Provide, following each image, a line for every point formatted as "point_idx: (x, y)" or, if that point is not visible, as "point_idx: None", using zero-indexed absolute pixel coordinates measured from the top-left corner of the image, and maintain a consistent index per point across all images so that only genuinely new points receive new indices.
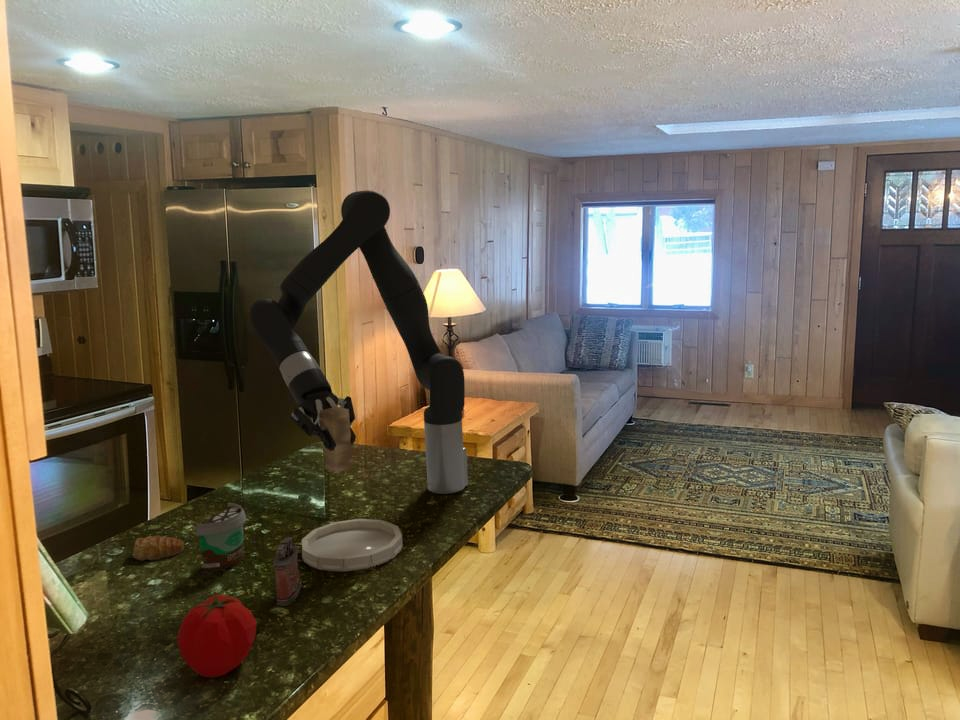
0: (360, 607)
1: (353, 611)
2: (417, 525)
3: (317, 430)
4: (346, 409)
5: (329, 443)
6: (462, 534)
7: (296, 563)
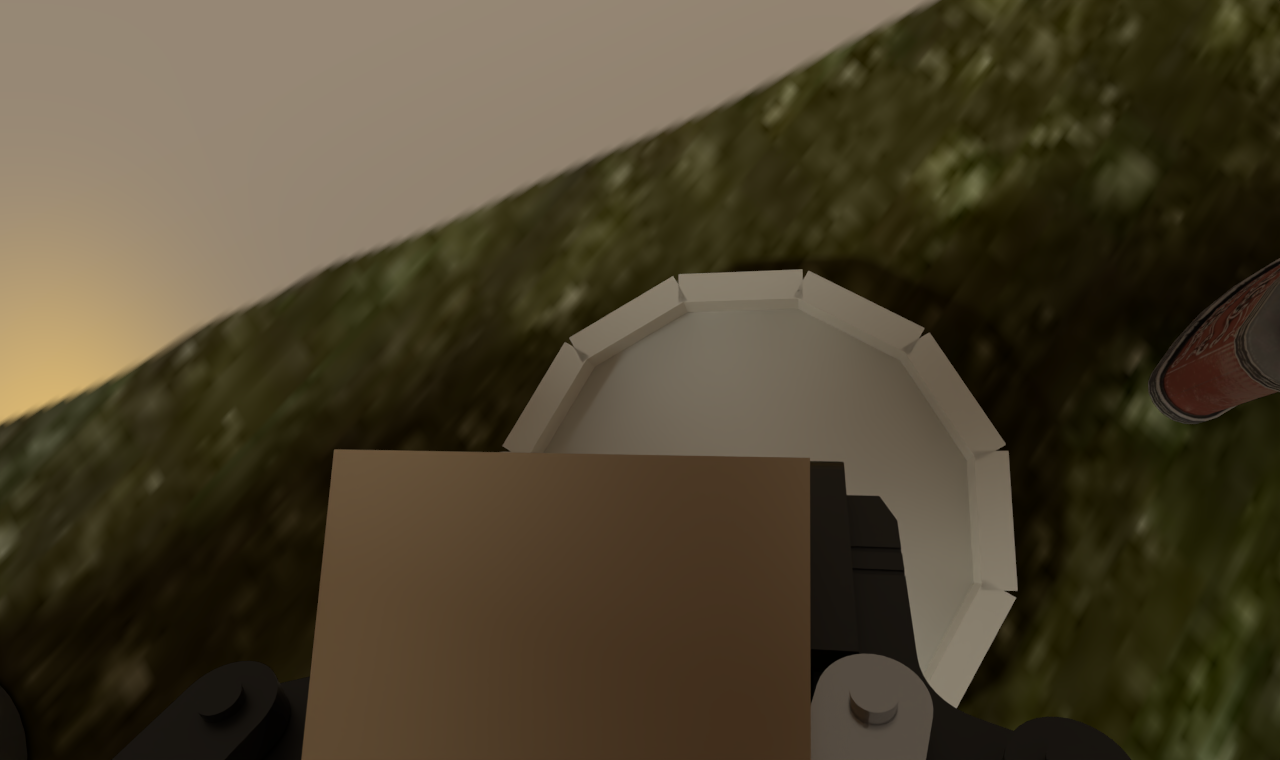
0: (1058, 33)
1: (1098, 25)
2: None
3: (984, 731)
4: (366, 483)
5: (868, 512)
6: (337, 265)
7: (1249, 304)
